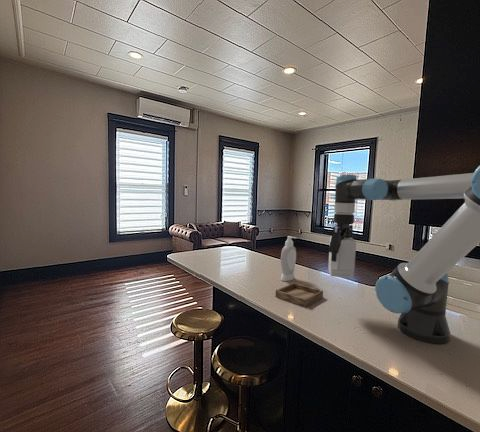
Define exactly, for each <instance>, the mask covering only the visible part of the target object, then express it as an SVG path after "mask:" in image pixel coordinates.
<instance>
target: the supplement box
mask: <svg viewBox="0 0 480 432" xmlns="http://www.w3.org/2000/svg"><path fill="white" fill-rule="evenodd" d="M331 238H332V236H329V243H330V242H331ZM328 246H329V247H330V244H329V245H328ZM356 252H357V240H355V239H354V238H353V239H352V238H344V239H342V240H341V245H340V248H339V251H338V253H339V263H338V270H335V269H331V252H329V251H328V268H327V269H328V270H327V271H328V273H329V276H330V277H334V278H335V277H336V278H337V277H338V278H348V279H355V266H356V265H355V264H356Z"/></svg>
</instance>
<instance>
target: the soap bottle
mask: <svg viewBox="0 0 480 432" xmlns="http://www.w3.org/2000/svg"><path fill="white" fill-rule="evenodd" d="M292 239H298V238H297V237H295V236H291V235H288V236H287V239H286V241H284V242H285V243H284V246H283V247H282V249H281V253H280V254H281V255H280V267H281V272H282V273H281V277H280V281H281V282H290V281H293V280H295V273H294V272H295V267H296V261H297V249H296V247H295V246H294V241H293V240H292Z"/></svg>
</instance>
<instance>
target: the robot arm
mask: <svg viewBox="0 0 480 432" xmlns="http://www.w3.org/2000/svg"><path fill="white" fill-rule="evenodd" d="M445 199H446V200H447V199H450V200H451V199H453V200H455V199H464V202H463V204H462V205H461V206H460V207H459V208H458V209H457V210H456V211H455V212H454V214H452V216H450V218H448V219H447V221H446V222H445V223H444V224H443V225H442V226H441V227H440V228H439V229H438V230H437V231H436V233H434V235H433V236H432V237H431V238H430V239H429V240H428V241H427V242H426V243H425V244H424V245H423V246H422V247H421V248H420V249H419V251H418V252H417V253H416V254H415V255H414V256H413V257H412V258H411V259H410V260H409V262H401V263H399V264H398V265H397V266H396V267H395V268H394V269H393V271H392V272H391V273H389V274H388V275H387V274H386V275H383V276H381V277H380V278H378V279H377V280H376V283H375V286H374V289H375V295H376V298H377V300H378V302H379V303H380V304H381V305H382V306H383V308H384V309H386V310H387V311H389V312H390V313H394V314H399V316H398V320H397V328H398V329H399V331H400V332H402V333H403V334H405V335H406V336H409V337H411V338H413V339H414V340H418V341H422V342H425V343H427V344H429V343H430V344H439V345H441V344H447V343H449V342H450V341H451V330H450V327H449V323H448V320H447V317H446V312H447V311H446V310H447V300H448V292H449V285H450V282H449V279H450V278H449V274H448V272H449V271H450V270H451V269H452V268H454V267H455V266H456V265H457V264H458V263H459V262H460V261H461V260H462V259H464V258H465V257H466V256H467V255H468V254H469V253H470V252H471V251H472V250H473V249H475V248H476V247H477V246H478V245H479V244H480V165H478V166H477V168H476V169H475V170H474V172H469V173H460V174H459V173H458V174H457V173H456V174H447V175H437V176H426V177H416V178H414V177H413V178H405V179H403V178H402V179H393V180H387V179H383V178H365V179H357V175H355V174H338V175H337V176H336V181H335V195H334V205H333V207H334V213H335V214H333V223H335V224H337V225H336V226H333V227H332V234H331V237H332V238H331V242H330V241H329V245H330V247H329V248H328V253H329V252H331V269H335V270H338V263H339V253H338V251H339V248H340V245H341V240H342V239H344V238H352V239H354V230H353V229H354V228H353V224H354V223H355V214H354V213H356V212H355V210H356V209H355V207H356V204H355V203H356V200H365V201H366V200H367V201H368V200H370V201H402V200H407V201H408V200H445Z"/></svg>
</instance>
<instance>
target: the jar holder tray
mask: <svg viewBox="0 0 480 432" xmlns="http://www.w3.org/2000/svg"><path fill="white" fill-rule="evenodd" d="M275 297H276V298H278V299H282V300H283V301H287V302H291V303H292V304H296V305H299V306H301V307H304V308H306V307H308V306H310V305H312V304H314V303H315V302H318V301H319V300H321V299H322V298H323V297H324V290H321V289H317V288H314V287H311V286H306V285H303V284H300V283H297V282H293V283H290V284H288V285H284V286H283V287H281V288H277V289H276V290H275Z"/></svg>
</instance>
